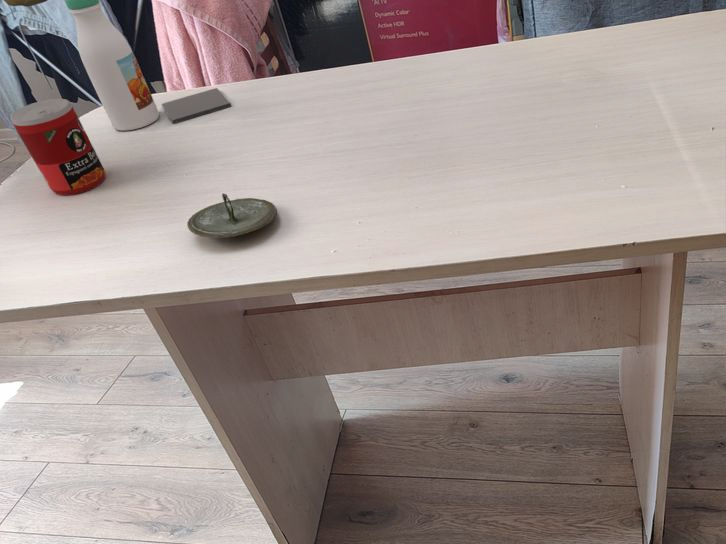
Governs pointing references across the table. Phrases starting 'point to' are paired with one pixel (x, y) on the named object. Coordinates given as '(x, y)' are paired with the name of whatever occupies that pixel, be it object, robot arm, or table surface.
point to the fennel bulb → (24, 2)
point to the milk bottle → (112, 68)
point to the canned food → (59, 146)
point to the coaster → (195, 105)
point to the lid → (232, 217)
